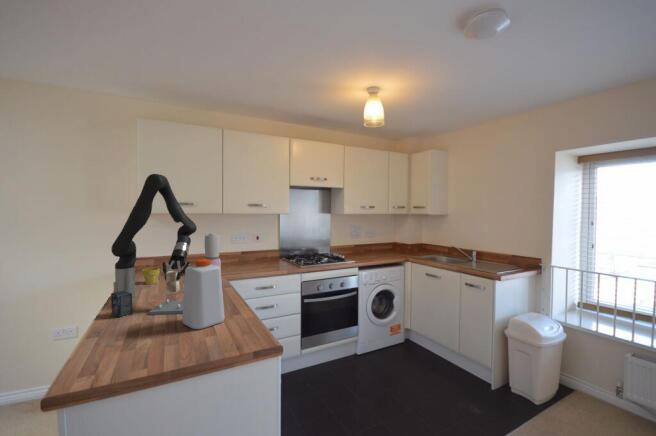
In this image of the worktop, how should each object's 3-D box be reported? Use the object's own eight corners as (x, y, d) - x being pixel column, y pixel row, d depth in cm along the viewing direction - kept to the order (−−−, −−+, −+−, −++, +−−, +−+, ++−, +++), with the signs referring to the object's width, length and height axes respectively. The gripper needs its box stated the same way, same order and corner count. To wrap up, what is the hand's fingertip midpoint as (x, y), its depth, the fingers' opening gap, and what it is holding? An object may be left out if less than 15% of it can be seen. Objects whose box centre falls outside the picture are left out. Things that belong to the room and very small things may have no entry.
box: (111, 315, 143) (110, 293, 143) (124, 311, 148) (123, 290, 148) (119, 318, 140) (119, 295, 139) (132, 314, 144) (132, 292, 144)
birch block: (166, 292, 150) (166, 272, 150) (170, 290, 154) (169, 270, 154) (176, 292, 151) (175, 272, 150) (179, 289, 155) (179, 270, 155)
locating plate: (148, 314, 144) (148, 307, 143) (163, 304, 159) (163, 297, 159) (183, 313, 145) (183, 306, 145) (194, 303, 161) (194, 296, 161)
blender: (216, 276, 226) (215, 234, 225) (201, 276, 227) (200, 234, 227) (225, 272, 242) (225, 232, 241) (211, 271, 243) (210, 232, 242)
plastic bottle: (210, 314, 145) (210, 256, 144) (228, 321, 135) (227, 259, 134) (178, 323, 133) (177, 260, 132) (195, 332, 123) (194, 264, 123)
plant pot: (139, 284, 204) (138, 269, 203) (154, 280, 213) (153, 267, 213) (148, 285, 199) (148, 271, 199) (163, 282, 208) (163, 268, 208)
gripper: (164, 248, 159) (154, 276, 147) (192, 248, 161) (184, 275, 149) (168, 256, 164) (159, 284, 153) (195, 256, 166) (188, 283, 154)
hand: (171, 279), depth 151 cm, fingers closed on birch block, 4 cm apart
